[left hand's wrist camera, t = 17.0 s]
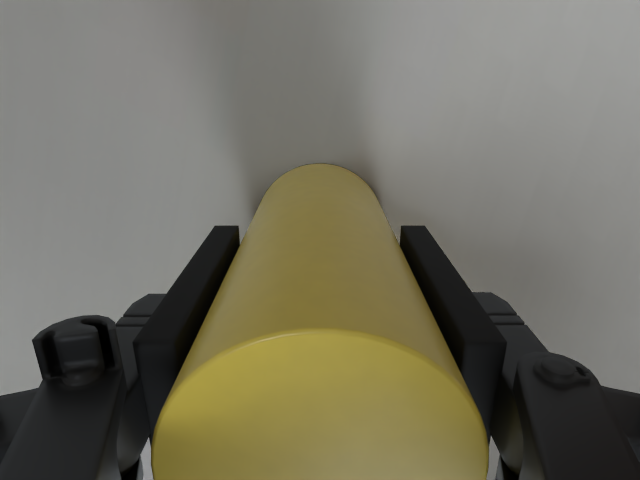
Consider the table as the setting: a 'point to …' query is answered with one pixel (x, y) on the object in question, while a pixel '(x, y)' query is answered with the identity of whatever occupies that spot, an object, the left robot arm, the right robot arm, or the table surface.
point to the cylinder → (319, 355)
